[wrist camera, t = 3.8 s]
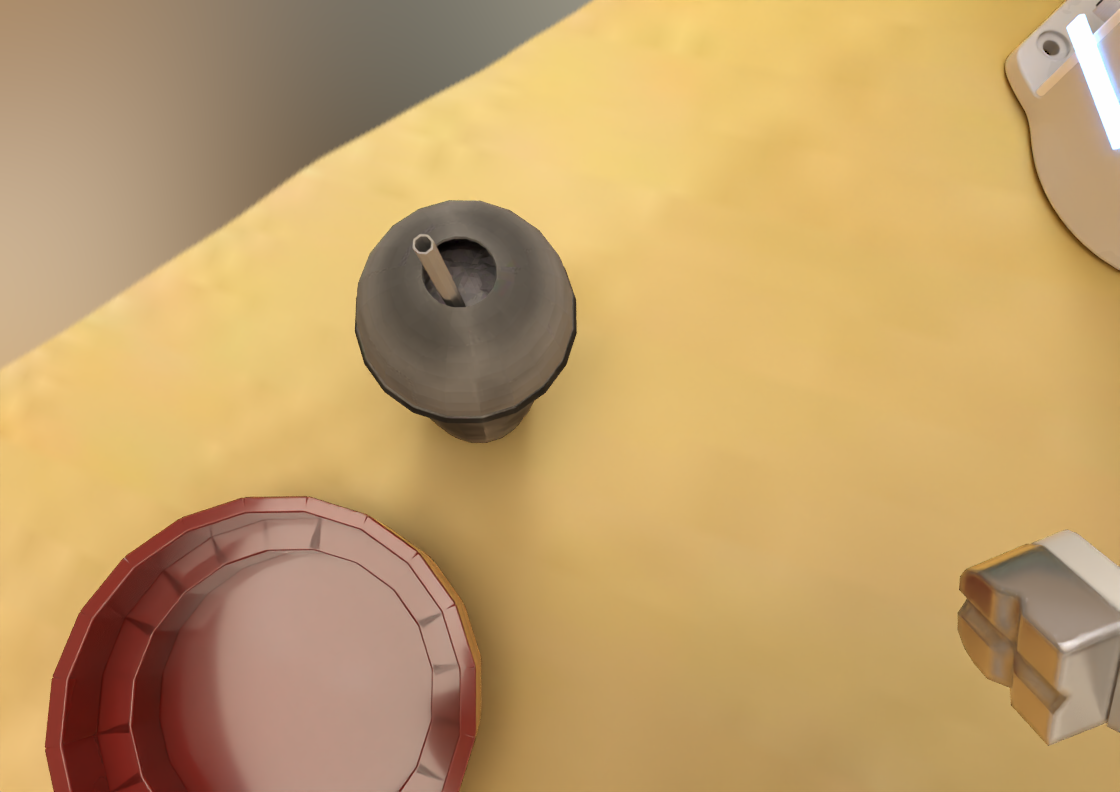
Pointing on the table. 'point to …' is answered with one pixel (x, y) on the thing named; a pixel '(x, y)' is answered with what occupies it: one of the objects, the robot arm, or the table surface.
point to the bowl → (268, 661)
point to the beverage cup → (465, 317)
